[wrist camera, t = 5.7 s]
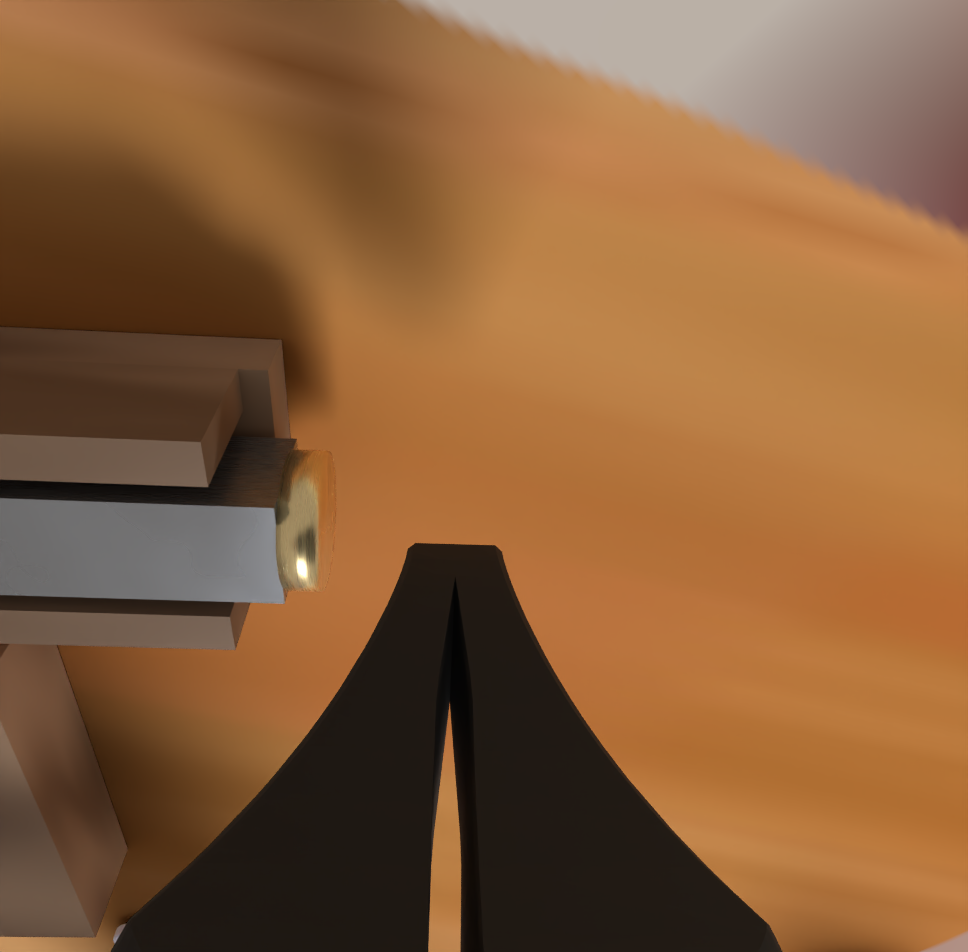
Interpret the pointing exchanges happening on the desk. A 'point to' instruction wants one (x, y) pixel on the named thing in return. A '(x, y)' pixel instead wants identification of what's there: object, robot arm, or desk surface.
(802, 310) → the desk surface
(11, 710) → the socket block
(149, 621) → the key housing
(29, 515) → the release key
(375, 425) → the desk surface
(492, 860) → the robot arm
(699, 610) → the desk surface
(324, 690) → the desk surface
